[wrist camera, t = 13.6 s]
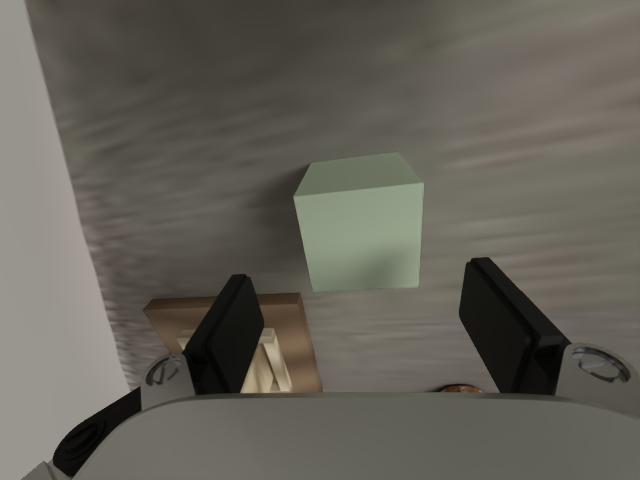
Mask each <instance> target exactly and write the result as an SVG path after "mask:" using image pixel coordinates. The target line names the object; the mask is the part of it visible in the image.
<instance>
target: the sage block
mask: <svg viewBox="0 0 640 480" xmlns="http://www.w3.org/2000/svg"><path fill="white" fill-rule="evenodd" d="M423 191H424V182H423V181H422V180H421V179H420V177H419V176H418V175H417V174H416V173H415V172H414V170H413V169H412V168H411V167H410V166H409V164H408V163H407V162H406V161H405V160H404V159H403V157H402V156H401V155H400V154H399V153H398V152H392V153H384V154H376V155H368V156H360V157H353V158H345V159H337V160H329V161H321V162H314V163H311V164H310V166H309V168H308V170H307V172H306V174H305V176H304V178H303V179H302V181H301V183H300V185H299V187H298V189H297V191H296V193H295V195H294V202H295V207H296V212H297V217H298V221H299V226H300V231H301V236H302V241H303V246H304V251H305V255H306V260H307V265H308V270H309V275H310V280H311V285H312V290H313V292H327V291H347V290H368V289H388V288H409V287H418V284H419V265H420V247H421V228H422V210H423Z"/></svg>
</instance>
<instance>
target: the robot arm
mask: <svg viewBox="0 0 640 480" xmlns="http://www.w3.org/2000/svg"><path fill="white" fill-rule="evenodd" d="M459 316H460V319H461V321H462V323H463V325H464V327H465V329H466V331H467V333H468V334H469V336H470V338H471V340H472V342H473V344H474V345H475V347H476V349H477V351H478V353H479V355H480V356H481V358H482V360H483V362H484V364H485V366H486V367H487V369H488V371H489V373H490V375H491V377H492V378H493V380H494V382H495V384H496V386H497V388H498V389H499V391H500V393H473V392H299V393H240V392H241V390H242V387H243V384H244V381H245V379H246V376H247V373H248V370H249V367H250V365H251V362H252V359H253V356H254V353H255V351H256V348H257V345H258V342H259V340H260V337H261V334H262V331H263V328H264V318H263V315H262V312H261V309H260V306H259V302H258V299H257V296H256V293H255V290H254V287H253V284H252V281H251V278H250V277H247V275H246V274H237V275H232V276H231V277H230V279H229V280H228V282H227V283H226V285H225V286H224V288H223V289H222V291H221V292H220V294H219V295H218V297H217V298H216V300H215V302H214V303H213V305H212V306H211V308H210V309H209V311H208V312H207V314H206V315H205V317H204V318H203V320H202V321H201V323H200V324H199V326H198V327H197V329H196V330H195V332H194V333H193V335H192V337H191V338H190V340H189V341H188V343H187V344H186V346H185V349H184V350H183V352H182V353H171V354H168V355H165V356H163V357H161V358H159V359H158V360H156V361H155V362H154V363H152V364H151V365H150V366H149V367H148V368H147V370H146V371H145V372H144V374H143V376H142V378H141V383H140V385H141V386H140V387H138V388H137V389H135V390H133V391H132V392H130V393H128V394H127V395H125V396H124V397H122V398H120V399H119V400H117V401H115V402H114V403H112V404H110V405H109V406H107V407H106V408H104V409H102V410H101V411H99V412H97V413H96V414H94V415H93V416H91V417H89V418H88V419H86V420H84V421H83V422H82V423H80V424H79V425H77V426H76V427H75V428H74V429H72V430H71V431H70V432H69V433H68V434H67V435H66V436H65V438H64V439H63V440H62V441H61V442H60V444H59V445H58V447H57V449H56V450H55V453H54V456H53V459H52V460H51V461H50V462H49V463H46V462H45V461H43V462H42V463H40V464H39V465H38V466H37V467H36V468H34V469H33V470H32V471H31V472H30V473H28V474H27V475H26V476H25V477H23V478H22V479H21V480H640V378H639V375H638V372H637V371H636V370H635V369H634V367H633V366H632V365H631V364H630V363H628V362H627V361H626V360H625V359H624V358H622V357H620V356H619V355H617V354H615V353H614V352H612V351H610V350H607V349H605V348H603V347H600V346H597V345H593V344H589V343H581V342H580V343H571V342H570V341H569V340H568V339H567V338H566V337H565V336H564V335H563V334H562V333H561V332H560V331H559V330H558V329H557V327H556V326H555V325H554V324H553V323H552V322H551V321H550V320H549V319H548V318H547V317H546V316H545V315H544V314H543V313H542V312H541V311H540V310H539V309H538V308H537V307H536V306H535V304H534V303H533V302H532V301H531V300H530V299H529V298H528V297H527V296H526V295H525V294H524V293H523V292H522V291H521V290H519V288H518V287H517V286H516V285H515V284H514V283H513V282H512V281H511V280H510V279H509V278H508V277H507V276H506V275H505V274H504V273H503V272H502V271H501V270H500V269H499V267H498V266H497V265H496V264H495V263H494V262H493V261H492V260H491V259H490V258H488V257H483V258H472V259H471V261H470V262H467V263H466V267H465V274H464V281H463V288H462V294H461V301H460V308H459Z"/></svg>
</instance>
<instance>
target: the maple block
mask: <svg viewBox="0 0 640 480" xmlns="http://www.w3.org/2000/svg"><path fill="white" fill-rule="evenodd" d="M272 381H273V374H272V372H271V369H270V366H269V363H268V361H267V358H266V355H265V352H264V350H263V347H262V344H261V343H260V344H258V345H257V348H256V351H255V353H254V356H253V359H252V362H251V365H250V367H249V370H248V373H247V376H246V379H245V381H244V384H243V387H242V390H241V392H240V393H269V392H270V388H271V385H272Z"/></svg>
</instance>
